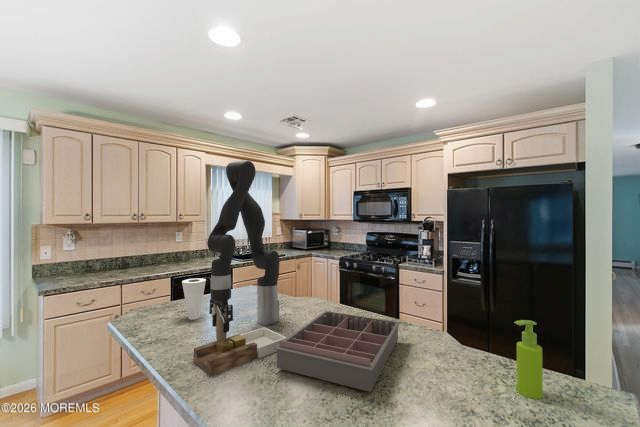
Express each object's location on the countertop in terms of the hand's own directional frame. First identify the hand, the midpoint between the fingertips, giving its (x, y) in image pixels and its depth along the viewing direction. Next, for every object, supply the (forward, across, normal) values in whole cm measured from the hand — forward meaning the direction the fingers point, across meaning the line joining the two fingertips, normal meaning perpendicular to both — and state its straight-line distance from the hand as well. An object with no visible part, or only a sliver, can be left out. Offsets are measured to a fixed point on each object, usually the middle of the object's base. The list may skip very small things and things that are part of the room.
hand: (220, 329), depth 115 cm
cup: (+6, +37, -5) cm, 38 cm away
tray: (+6, -12, -10) cm, 17 cm away
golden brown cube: (+4, -12, 0) cm, 13 cm away
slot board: (+6, -12, +4) cm, 14 cm away
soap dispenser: (+6, -90, -46) cm, 101 cm away
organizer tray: (+6, -39, -26) cm, 47 cm away
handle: (+6, 0, 0) cm, 6 cm away
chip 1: (+4, -12, +5) cm, 14 cm away
